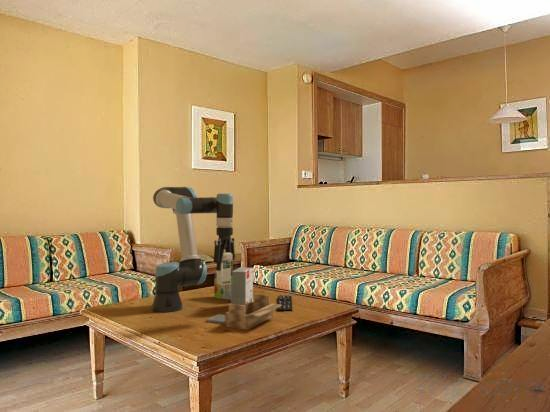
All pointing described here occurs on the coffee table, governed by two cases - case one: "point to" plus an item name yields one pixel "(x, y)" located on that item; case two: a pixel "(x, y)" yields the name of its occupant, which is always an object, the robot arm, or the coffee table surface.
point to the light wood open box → (250, 313)
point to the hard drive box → (242, 286)
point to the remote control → (284, 303)
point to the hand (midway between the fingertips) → (224, 275)
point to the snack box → (221, 289)
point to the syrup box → (226, 270)
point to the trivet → (217, 319)
